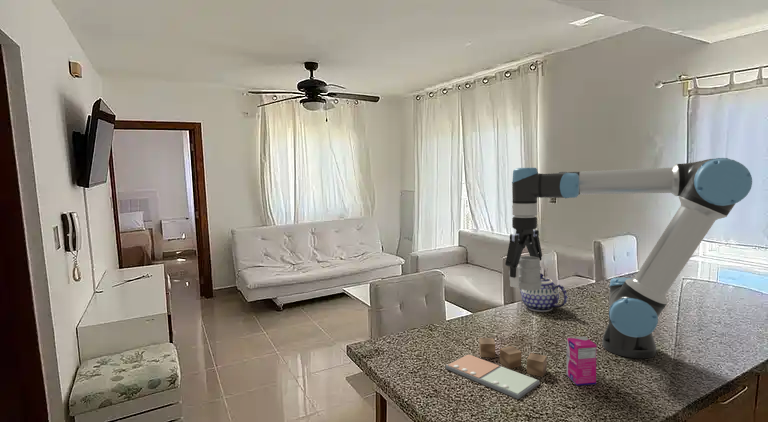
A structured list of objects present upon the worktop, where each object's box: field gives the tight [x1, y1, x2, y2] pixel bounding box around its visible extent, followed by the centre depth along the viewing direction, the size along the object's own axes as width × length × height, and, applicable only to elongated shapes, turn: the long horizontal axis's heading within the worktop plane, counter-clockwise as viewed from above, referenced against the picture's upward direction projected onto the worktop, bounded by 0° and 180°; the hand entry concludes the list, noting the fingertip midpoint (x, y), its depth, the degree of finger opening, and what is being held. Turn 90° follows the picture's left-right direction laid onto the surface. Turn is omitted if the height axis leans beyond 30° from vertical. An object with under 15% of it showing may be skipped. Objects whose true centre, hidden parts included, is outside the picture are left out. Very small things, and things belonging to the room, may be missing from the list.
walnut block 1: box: [478, 337, 496, 359], centre depth 137 cm, size 4×4×4 cm
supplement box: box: [566, 336, 598, 387], centre depth 119 cm, size 6×6×12 cm
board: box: [445, 354, 540, 400], centre depth 123 cm, size 24×11×1 cm, turn 42°
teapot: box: [519, 272, 568, 313], centre depth 180 cm, size 25×15×15 cm, turn 30°
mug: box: [508, 255, 542, 291], centre depth 138 cm, size 8×12×12 cm, turn 113°
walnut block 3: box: [526, 352, 548, 378], centre depth 125 cm, size 4×4×4 cm
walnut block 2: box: [499, 345, 522, 370], centre depth 130 cm, size 4×4×4 cm
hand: (524, 283), depth 139 cm, fingers closed on mug, 11 cm apart
